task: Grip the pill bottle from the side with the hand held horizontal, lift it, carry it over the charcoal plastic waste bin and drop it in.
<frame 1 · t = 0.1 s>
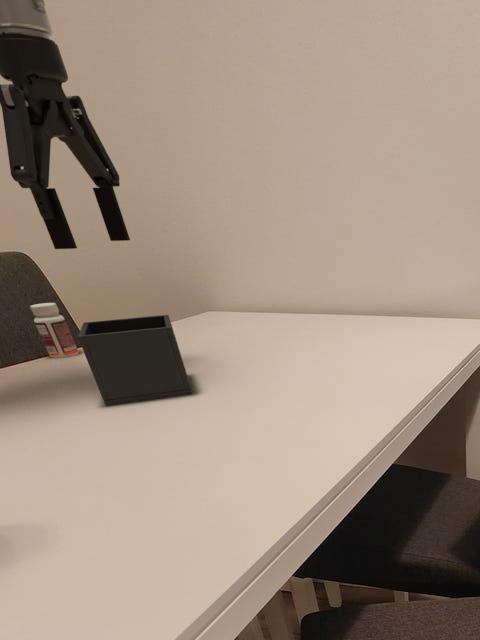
hand: (95, 244, 85), 18 cm above the table, tool pointing down, fingers open, 13 cm apart
pill bottle: (65, 357, 108), on the table
trash bin: (150, 392, 87), on the table
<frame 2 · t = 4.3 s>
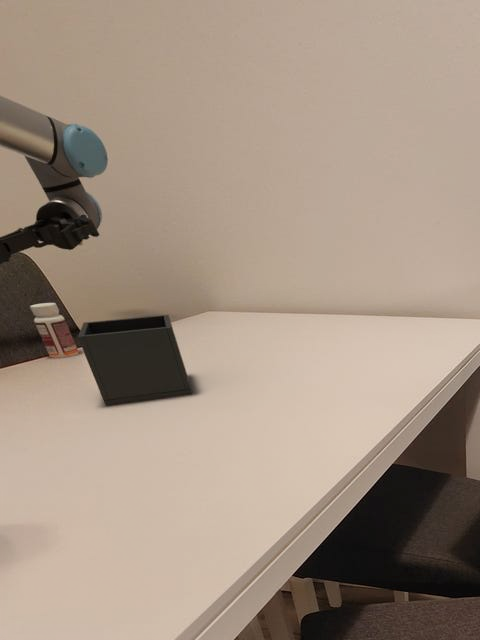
hand: (28, 249, 105), 16 cm above the table, tool horizontal, fingers open, 13 cm apart
nothing on the table moved.
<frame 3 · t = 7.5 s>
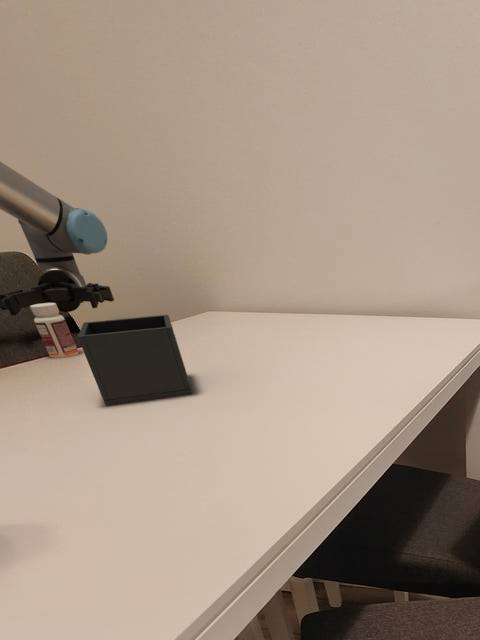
hand: (51, 303, 110), 7 cm above the table, tool horizontal, fingers open, 13 cm apart
nothing on the table moved.
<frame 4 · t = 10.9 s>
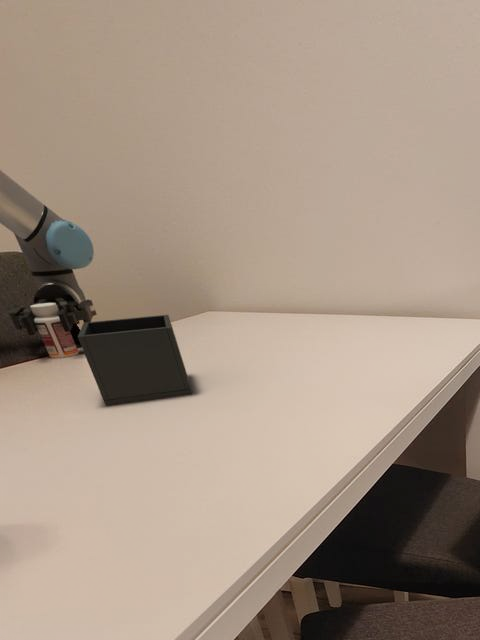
hand: (46, 324, 101), 6 cm above the table, tool horizontal, fingers closed on pill bottle, 5 cm apart
pill bottle: (65, 357, 108), on the table, touching gripper
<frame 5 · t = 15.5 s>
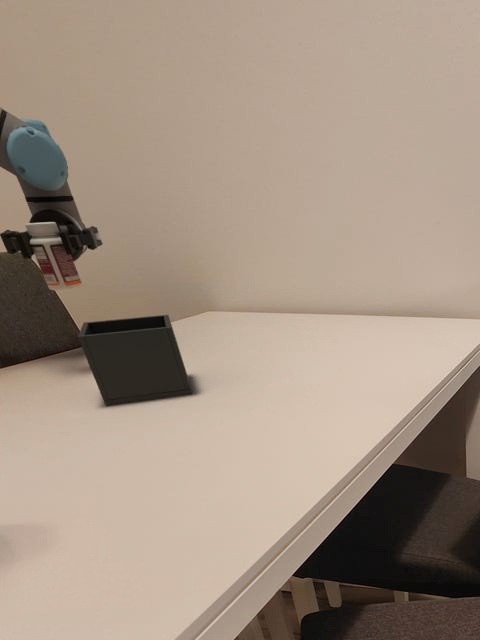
hand: (44, 244, 84), 18 cm above the table, tool horizontal, fingers closed on pill bottle, 5 cm apart
pill bottle: (66, 289, 92), point 12 cm above the table, touching gripper
when the fingers open (14 cm above the table, at t = 20.1 s): pill bottle drops 7 cm, resting on trash bin.
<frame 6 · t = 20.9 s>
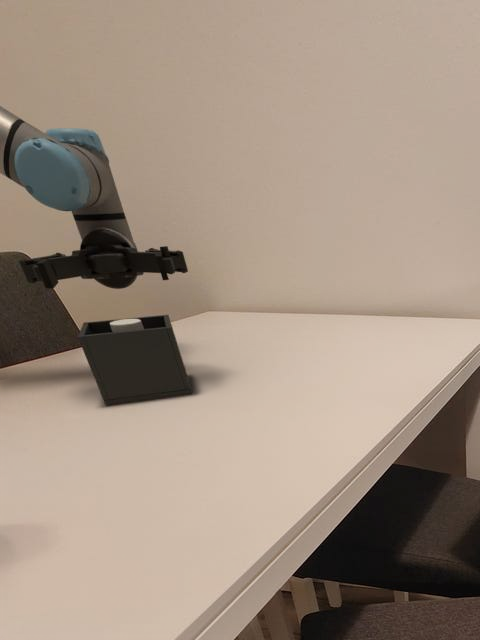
hand: (105, 272, 75), 16 cm above the table, tool horizontal, fingers open, 13 cm apart
pill bottle: (147, 386, 87), point 1 cm above the table, touching trash bin
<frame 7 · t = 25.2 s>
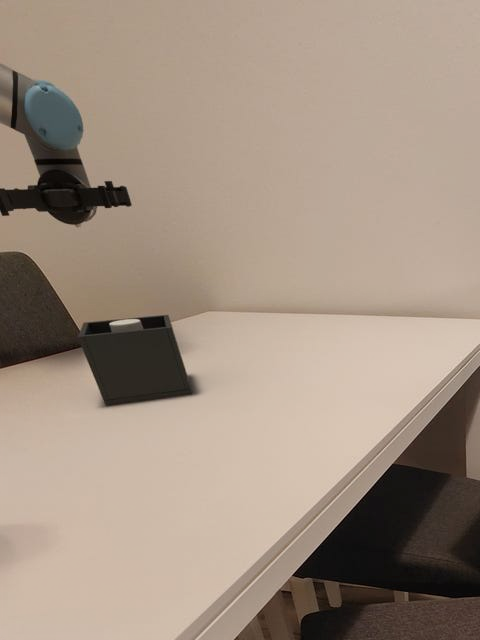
hand: (52, 198, 86), 23 cm above the table, tool horizontal, fingers open, 13 cm apart
nothing on the table moved.
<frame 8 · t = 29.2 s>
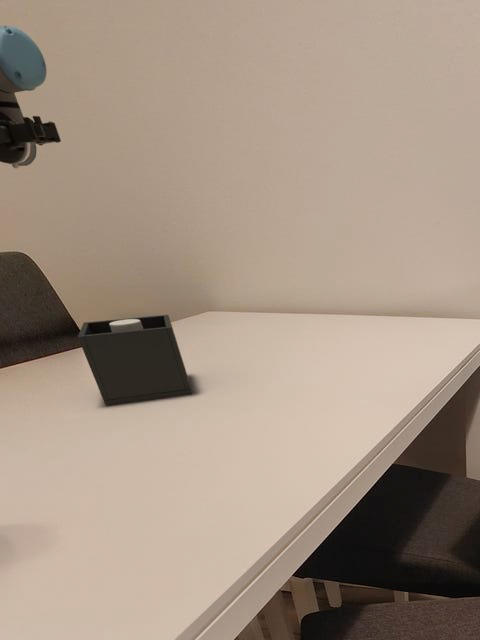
nothing on the table moved.
at the end: pill bottle inside the target area in the trash bin (0.1 cm from its centre), point 0.8 cm above the trash bin's base; the gripper is holding nothing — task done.
